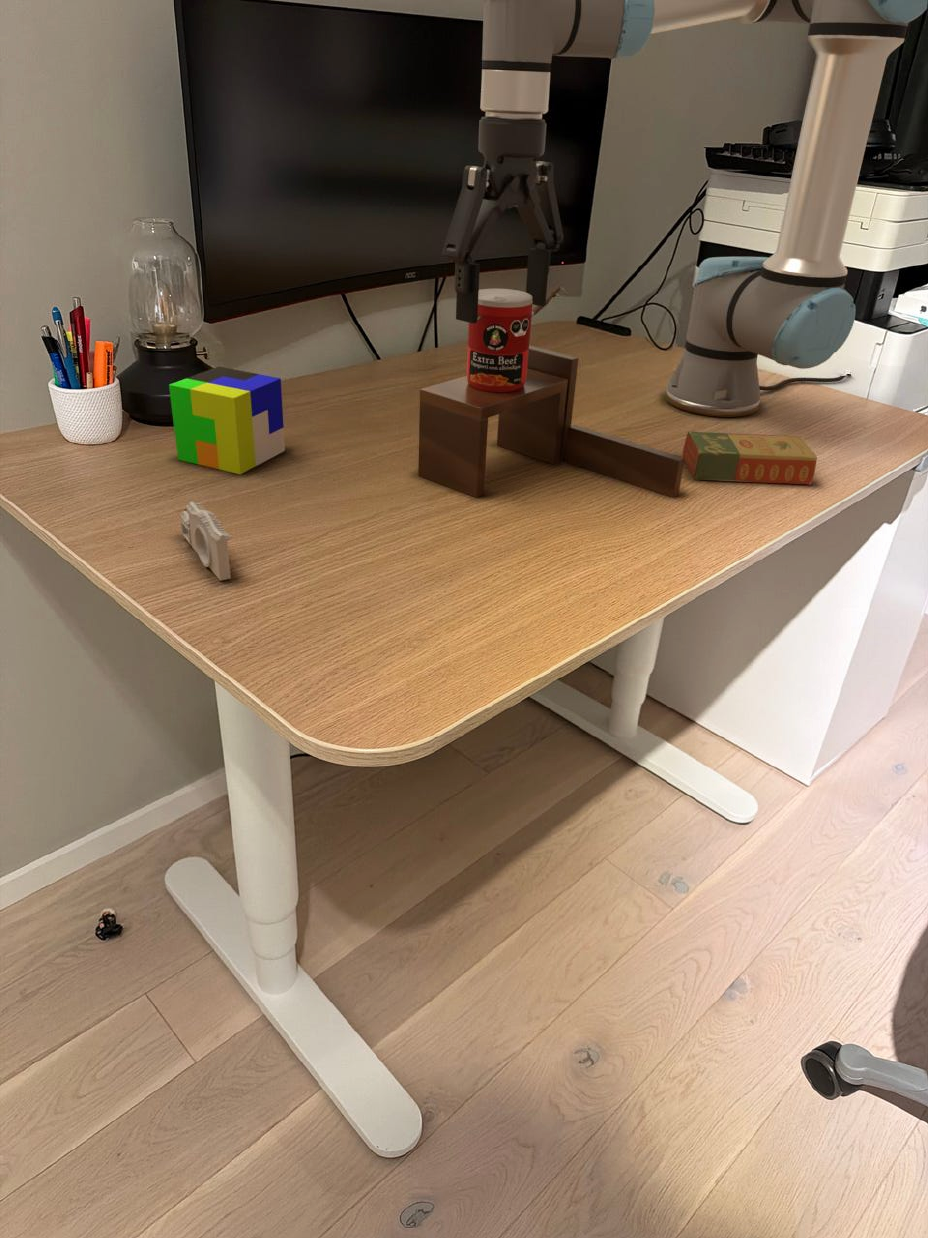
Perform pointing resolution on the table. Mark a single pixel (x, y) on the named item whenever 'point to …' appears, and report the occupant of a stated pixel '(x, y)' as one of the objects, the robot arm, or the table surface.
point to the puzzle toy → (228, 419)
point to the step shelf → (528, 431)
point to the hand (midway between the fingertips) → (502, 312)
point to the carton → (749, 458)
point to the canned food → (499, 341)
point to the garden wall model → (207, 539)
